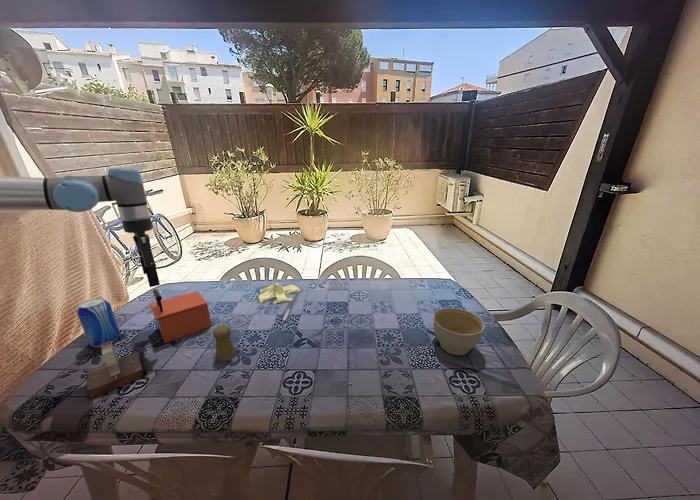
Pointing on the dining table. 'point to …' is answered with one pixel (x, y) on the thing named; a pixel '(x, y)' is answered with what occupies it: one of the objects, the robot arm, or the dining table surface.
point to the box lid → (175, 304)
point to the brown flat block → (103, 382)
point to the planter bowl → (457, 330)
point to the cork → (223, 343)
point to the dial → (110, 358)
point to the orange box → (184, 323)
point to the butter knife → (286, 315)
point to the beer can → (98, 321)
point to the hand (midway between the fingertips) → (151, 279)
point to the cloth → (277, 293)
